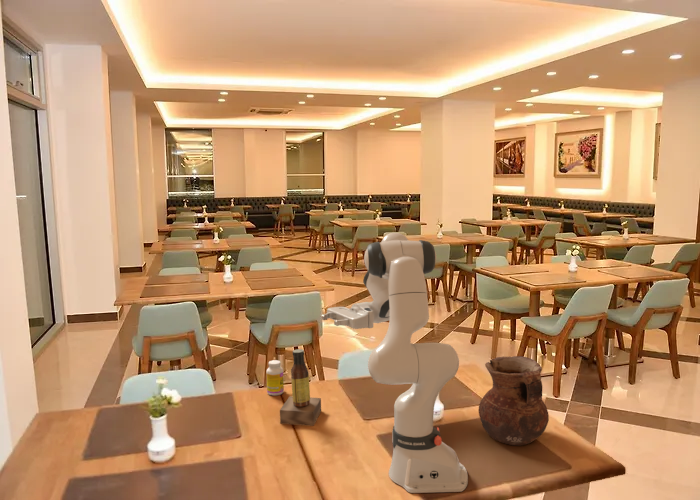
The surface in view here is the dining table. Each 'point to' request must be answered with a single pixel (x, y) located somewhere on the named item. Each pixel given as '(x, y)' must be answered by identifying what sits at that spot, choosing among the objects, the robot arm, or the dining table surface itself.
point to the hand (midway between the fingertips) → (328, 320)
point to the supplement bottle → (275, 378)
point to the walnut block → (300, 412)
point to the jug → (514, 401)
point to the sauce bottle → (300, 380)
